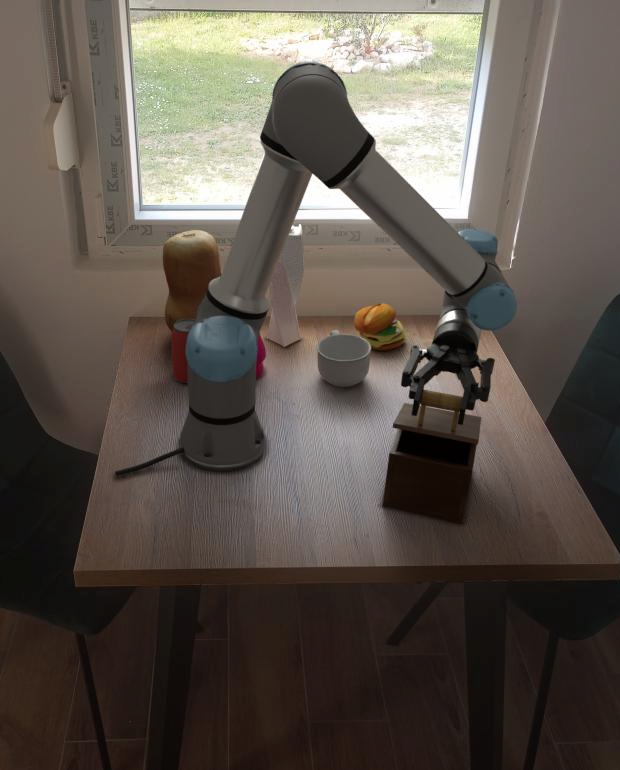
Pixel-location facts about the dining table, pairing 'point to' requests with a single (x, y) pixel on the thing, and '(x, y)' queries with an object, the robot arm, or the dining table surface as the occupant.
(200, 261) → the butternut squash
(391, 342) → the cheeseburger
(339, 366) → the teacup
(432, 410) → the lid
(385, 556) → the dining table surface
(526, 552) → the dining table surface
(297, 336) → the skyscraper
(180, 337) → the beer can
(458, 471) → the caddy
